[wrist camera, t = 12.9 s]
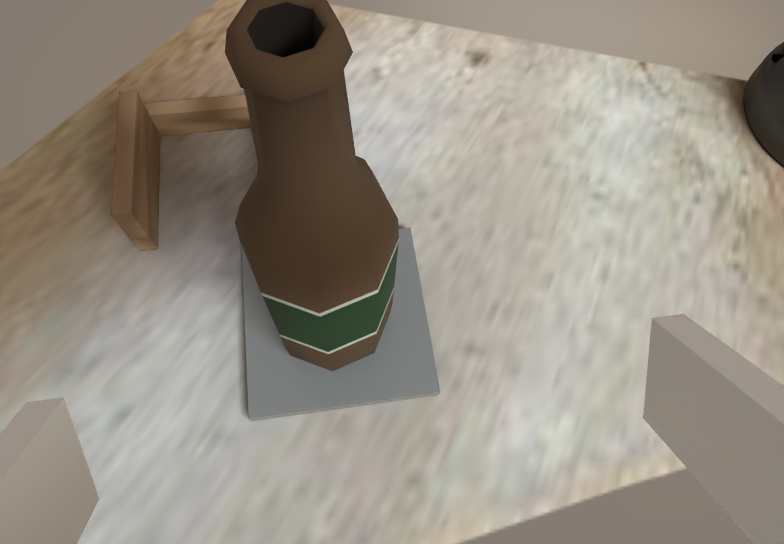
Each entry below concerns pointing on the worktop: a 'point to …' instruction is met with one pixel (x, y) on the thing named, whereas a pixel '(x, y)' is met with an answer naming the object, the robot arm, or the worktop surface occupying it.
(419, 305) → the coaster
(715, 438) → the robot arm
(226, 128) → the cradle
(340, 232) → the beer bottle
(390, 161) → the worktop surface
